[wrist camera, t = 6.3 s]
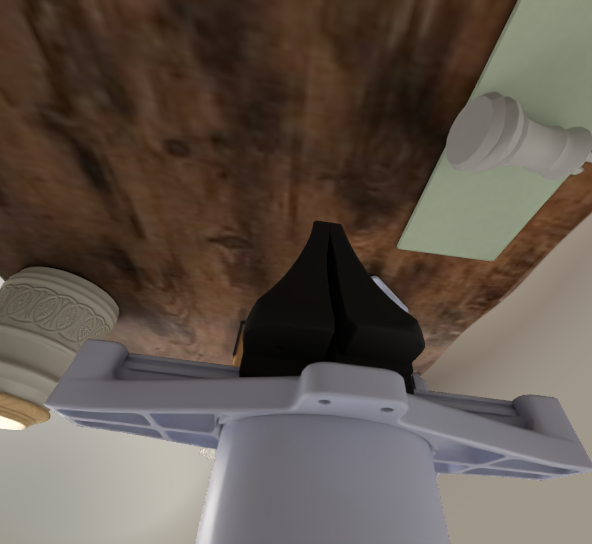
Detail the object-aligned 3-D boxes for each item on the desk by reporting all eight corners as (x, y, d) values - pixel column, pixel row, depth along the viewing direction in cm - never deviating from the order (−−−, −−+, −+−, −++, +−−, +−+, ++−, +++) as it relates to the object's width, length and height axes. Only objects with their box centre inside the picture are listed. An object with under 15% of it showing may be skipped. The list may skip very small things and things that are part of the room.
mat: (491, 258, 28) (493, 261, 28) (396, 245, 28) (396, 248, 27) (752, -43, 13) (761, -44, 13) (554, -76, 13) (559, -76, 13)
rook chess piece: (510, 117, 14) (636, 149, 15) (483, 73, 16) (594, 104, 18) (451, 185, 18) (556, 205, 19) (435, 141, 20) (530, 162, 22)
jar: (96, 268, 34) (-32, 433, 22) (136, 326, 43) (61, 463, 31) (-10, 258, 34) (-195, 416, 22) (52, 318, 44) (-53, 451, 31)
